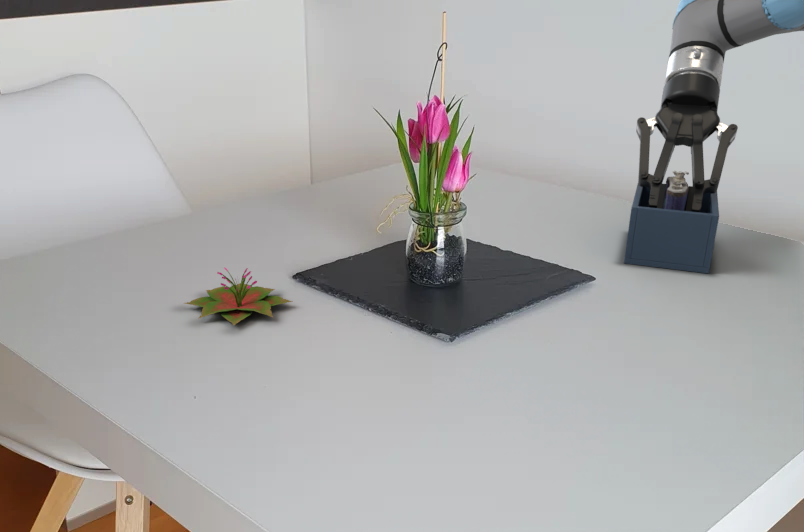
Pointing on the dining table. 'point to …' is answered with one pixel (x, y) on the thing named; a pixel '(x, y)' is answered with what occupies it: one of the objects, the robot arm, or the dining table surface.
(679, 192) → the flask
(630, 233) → the bin
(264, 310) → the lily flower
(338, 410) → the dining table surface
